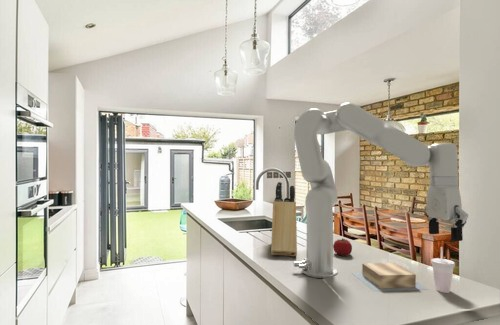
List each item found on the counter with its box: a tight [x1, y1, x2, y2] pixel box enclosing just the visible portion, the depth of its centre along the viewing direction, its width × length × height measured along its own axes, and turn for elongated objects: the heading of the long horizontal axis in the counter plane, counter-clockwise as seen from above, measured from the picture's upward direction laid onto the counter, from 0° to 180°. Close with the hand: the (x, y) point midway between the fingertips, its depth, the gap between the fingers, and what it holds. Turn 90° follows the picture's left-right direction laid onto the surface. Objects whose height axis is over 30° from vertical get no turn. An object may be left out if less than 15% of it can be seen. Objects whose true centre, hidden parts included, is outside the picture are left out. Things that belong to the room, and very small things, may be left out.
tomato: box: [333, 238, 353, 257], centre depth 137 cm, size 8×8×7 cm
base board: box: [351, 272, 428, 292], centre depth 104 cm, size 18×16×1 cm
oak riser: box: [361, 262, 417, 288], centre depth 104 cm, size 12×12×4 cm
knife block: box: [270, 181, 298, 257], centre depth 147 cm, size 11×35×31 cm, turn 174°
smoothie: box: [430, 246, 456, 294], centre depth 96 cm, size 6×6×14 cm
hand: (444, 237), depth 96 cm, fingers open, 9 cm apart
